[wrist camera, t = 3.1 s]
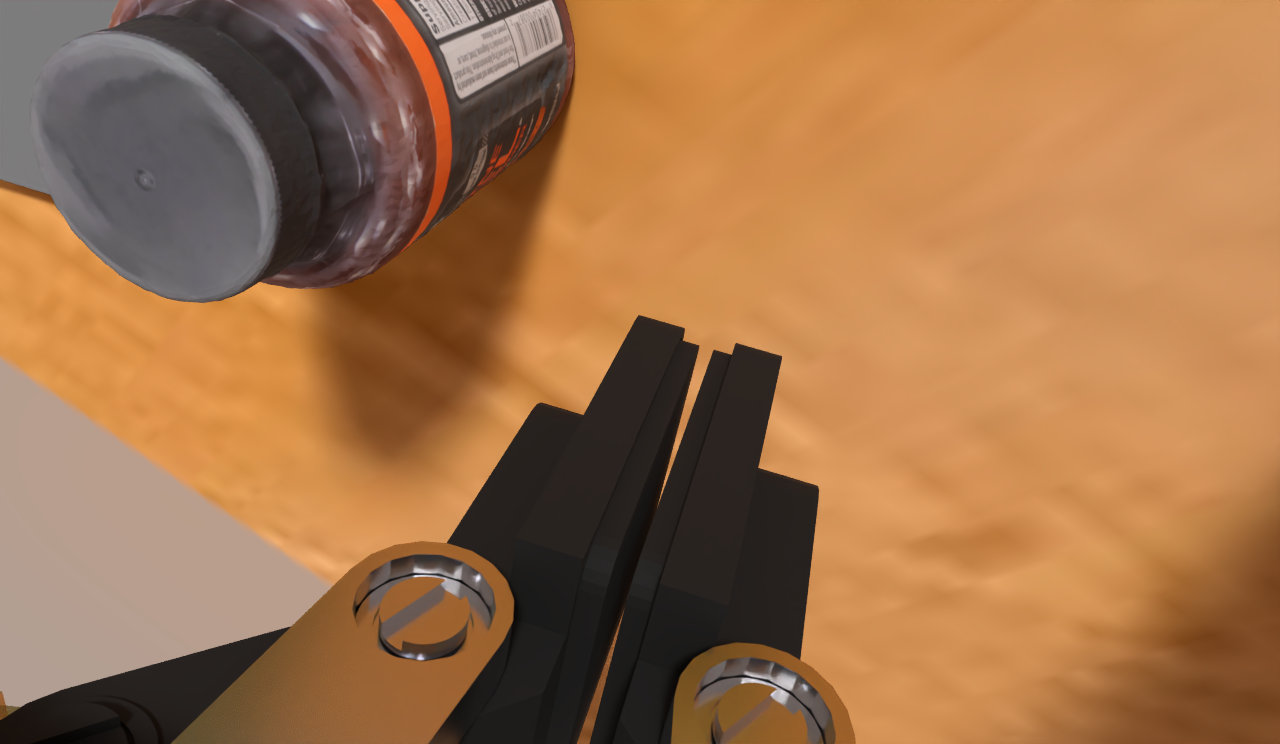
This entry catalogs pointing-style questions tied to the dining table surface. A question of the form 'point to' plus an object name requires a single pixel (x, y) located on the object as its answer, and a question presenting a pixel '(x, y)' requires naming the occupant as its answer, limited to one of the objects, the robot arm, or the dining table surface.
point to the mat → (34, 70)
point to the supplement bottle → (288, 131)
